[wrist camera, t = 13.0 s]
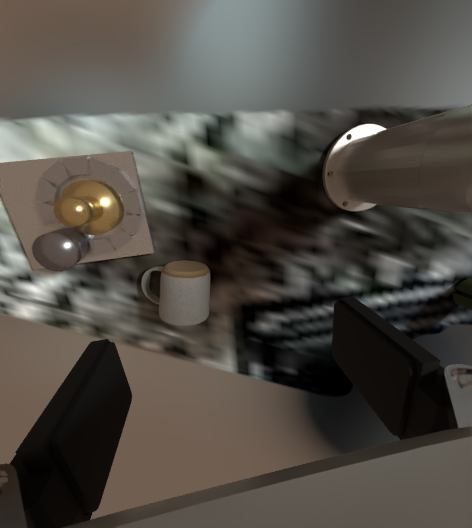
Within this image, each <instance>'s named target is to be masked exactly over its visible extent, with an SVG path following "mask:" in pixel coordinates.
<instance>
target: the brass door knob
mask: <svg viewBox="0 0 472 528" xmlns="http://www.w3.org/2000/svg"><path fill="white" fill-rule="evenodd" d="M54 214H55V217H56V218H57V219H58V221H59V222H61V223H62V224H64V225H66V226H69V227H73V228H74V229H76V230H77V231H79V232H81V233H84V234H88V235H100V234H104V233H106V232H108V231H110V230H112V229H114V228H115V227H116V226H117V225H118V224H119V222H120V220H121V217H122V205H121V202H120V199H119V197H118V196H117V194H116V193H115V192H114V191H113V190H112V189H111V188H110V187H108V186H107V185H105V184H103V183H100V182H97V181H89V180H80V181H76V182H73V183H71V184H70V185H68V186H67V187H66V188H65V189H64V191H63V192H62V194H61V198H60V199H59V200H58V201H57V202H56V203H55V205H54Z"/></svg>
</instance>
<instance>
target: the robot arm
mask: <svg viewBox="0 0 472 528" xmlns="http://www.w3.org/2000/svg"><path fill="white" fill-rule="evenodd" d="M346 137H347V139H346ZM322 179H323V186H324V189H325V192H326V194H327V196H328V198H329V199H330V200H331V201H332V203H333V204H335V205H336V206H337V207H339V208H341V209H343V210H348V211H356V212H357V211H364V210H367V209H370V208H372V207H373V206H375V205H377V204H381V205H389V206H398V207H407V208H416V209H425V210H434V211H443V212H454V213H472V104H471V105H468V106H465V107H462V108H458V109H455V110H451V111H448V112H444V113H441V114H437V115H434V116H431V117H427V118H424V119H420V120H417V121H413V122H410V123H407V124H403V125H400V126H396V127H393V128H389V129H385V128H384V127H382V126H379V125H376V124H363V125H359V126H356V127H353V128H351V129H349V130H348V131H346V132H344V133H343V134H342V135H341V136H339V137H338V138H337V140H336V141H335V142H334V143H333V144H332V146H331V148H330V149H329V151H328V153H327V156H326V158H325V161H324V165H323V173H322ZM332 355H333V358H334V360H335V361H336V363H337V364H338V365H339V366H340V368H341V369H342V370H343V372H344V373H345V374H346V375H347V377H348V378H349V379H350V381H351V382H352V383H353V385H354V386H355V387H356V388H357V390H358V391H359V392H360V393H361V395H362V396H363V397H364V398H365V400H366V401H367V403H368V404H369V405H370V406H371V408H372V409H373V410H374V412H375V413H376V414H377V416H378V417H379V418H380V419H381V421H382V422H383V423H384V425H385V426H386V427H387V428H388V430H389V431H390V432H391V433H392V434H393V435H395V436H398V437H399V438H400V441H396V442H392V443H387V444H383V445H379V446H375V447H371V448H367V449H363V450H359V451H355V452H351V453H347V454H343V455H339V456H334V457H330V458H327V459H322V460H318V461H314V462H311V463H306V464H302V465H299V466H295V467H291V468H287V469H283V470H279V471H275V472H271V473H267V474H263V475H259V476H255V477H251V478H247V479H243V480H239V481H236V482H232V483H227V484H224V485H220V486H216V487H212V488H208V489H204V490H201V491H197V492H193V493H189V494H185V495H181V496H177V497H173V498H170V499H166V500H162V501H158V502H154V503H150V504H147V505H143V506H139V507H135V508H132V509H127V510H124V511H120V512H116V513H113V514H109V515H106V516H103V517H99V518H96V519H92V520H90V518H91V515H92V512H94V511H96V510H97V509H98V507H99V505H100V502H101V498H102V495H103V492H104V489H105V486H106V482H107V479H108V476H109V472H110V469H111V466H112V463H113V460H114V456H115V453H116V450H117V447H118V443H119V440H120V437H121V434H122V430H123V427H124V424H125V421H126V417H127V414H128V411H129V408H130V404H131V399H132V393H131V390H130V387H129V384H128V381H127V378H126V375H125V372H124V369H123V366H122V363H121V360H120V357H119V354H118V352H117V349H116V346H115V343H114V342H110V341H109V340H108V339H105V340H99V341H93V342H91V343H90V344H89V345H88V347H87V348H86V350H85V351H84V352H83V354H82V355H81V357H80V358H79V360H78V361H77V363H76V364H75V366H74V367H73V369H72V370H71V372H70V373H69V374H68V376H67V377H66V379H65V380H64V382H63V383H62V385H61V386H60V388H59V389H58V391H57V392H56V394H55V395H54V396H53V398H52V400H51V401H50V402H49V404H48V405H47V407H46V408H45V410H44V411H43V413H42V414H41V416H40V417H39V419H38V420H37V422H36V423H35V424H34V426H33V427H32V429H31V430H30V432H29V433H28V435H27V436H26V438H25V439H24V440H23V442H22V443H21V445H20V446H19V448H18V450H17V451H16V455H15V457H14V458H13V460H12V461H11V463H10V464H7V463H6V464H0V528H472V366H467V365H462V364H457V365H456V364H454V365H450V366H447V367H446V369H444V368H443V367H441V366H440V365H439V363H440V360H439V359H438V358H437V357H435V356H434V355H432V354H431V353H430V352H428V351H427V350H426V349H424V348H423V347H421V346H420V345H419V344H417V343H416V342H415V341H413V340H412V339H410V338H409V337H408V336H406V335H405V334H404V333H402V332H401V331H399V330H398V329H397V328H395V327H394V326H393V325H391V324H390V323H388V322H387V321H386V320H384V319H383V318H382V317H380V316H379V315H378V314H376V313H375V312H373V311H372V310H371V309H369V308H368V307H367V306H365V305H364V304H362V303H361V302H360V301H358V300H357V299H356V298H354V297H346V298H340V299H338V301H337V302H336V303H335V304H334V319H333V339H332Z"/></svg>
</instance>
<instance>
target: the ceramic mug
mask: <svg viewBox="0 0 472 528" xmlns="http://www.w3.org/2000/svg"><path fill="white" fill-rule="evenodd" d="M152 271H162V273H161V280H160V298H159V297H157V296H156V295H154V294H153V292H152V291H151V289H150V287H149V284H150V277H151V272H152ZM141 285H142V290H143V292H144V294H145V295H146V297H147V298H148V299H149V300H151V301H152V302H154V303H156V304H158V305H159V316H160V318H161V319H162V320H163V321H164V322H166V323H168V324H171V325H175V326H192V325H197V324H199V323H201V322H203V321H205V320H206V319H207V318H208V316H209V304H210V271H209V268H208V267H207V266H206V265H205V264H203V263H200V262H196V261H186V260H182V261H174V262H170V263H168V264H166V265H165V266H164V267H163V266H157V267H153V268H151V269H149V270H147V271H146V272H145V273H144V275H143V277H142V283H141Z"/></svg>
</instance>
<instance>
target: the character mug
mask: <svg viewBox="0 0 472 528" xmlns="http://www.w3.org/2000/svg"><path fill="white" fill-rule="evenodd" d="M456 289H457V290H460V291H461V292H460V295H459V294H456V293H453V301H454V302H455V304H458V305H460V306H463V307H465V308H468V309H471V310H472V278H471V279H466V280H464V281H462V282H461V283H460V284H459V285H458V286H457V287H456Z"/></svg>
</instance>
